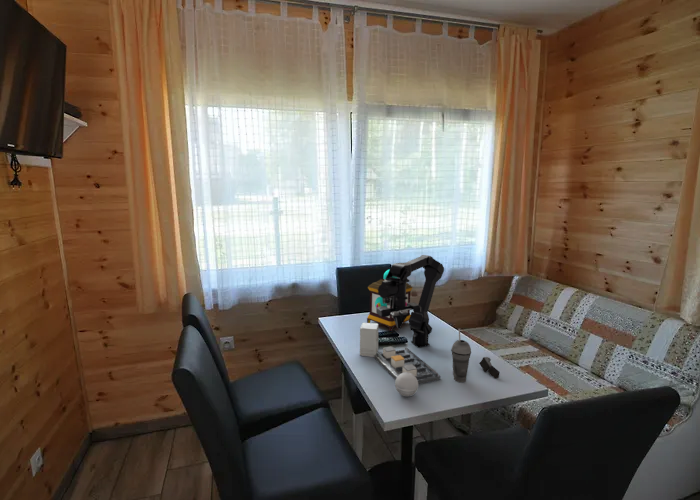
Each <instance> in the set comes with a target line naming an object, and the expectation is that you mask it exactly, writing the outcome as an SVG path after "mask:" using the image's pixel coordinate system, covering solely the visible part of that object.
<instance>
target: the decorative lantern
mask: <svg viewBox="0 0 700 500" xmlns="http://www.w3.org/2000/svg"><path fill="white" fill-rule="evenodd" d="M389 270H390V268H389V269H387V270H386V271H385V272H384V273H383V277H382V278H380V279H378V280H377V281H375V282H372V283H371V284H369V285H368V286H367V289H368V290H369V313H368V315H367V317H366V323H371V321H372V322H373V323H376V324H380V325H382V326H386V327H388V329H389V332H390V331H392V332H393V329H394V328H395V327H397V326H396V323H395V321H394V318H393V316H392V315H390V316H387V317H381V316H380V315H379V314H377V313H376V309H377V308H378V307H380V306H386V307H387V308H392V307H390V306H389V305H387V304H386V303H385V304H383V301H382V299H383V298H382V297H380V295H379V293H378V288H379V286H380V285H381V284H382V281H388V280H385V279H386V277H387V275H388V272H389ZM392 277H393V276H392ZM394 278H397V277H394ZM398 279H400V278H398ZM412 290H413V286H412V285H411V284H409V282H407V283H406V296H407V299H406V306H407V303H411V291H412ZM388 298H391V297H388ZM408 313H409V315H408V316H407V317H406V319H405V320H404V322H403V324H404V323H408V322H409V318H410V316H411V310H408Z"/></svg>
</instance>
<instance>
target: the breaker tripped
mask: <svg viewBox="0 0 700 500" xmlns="http://www.w3.org/2000/svg"><path fill="white" fill-rule="evenodd" d="M391 365H392V366H393V367H394V368H397V367H402V366H404V358H403V357H402V356H401V355H397V356H391Z"/></svg>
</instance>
